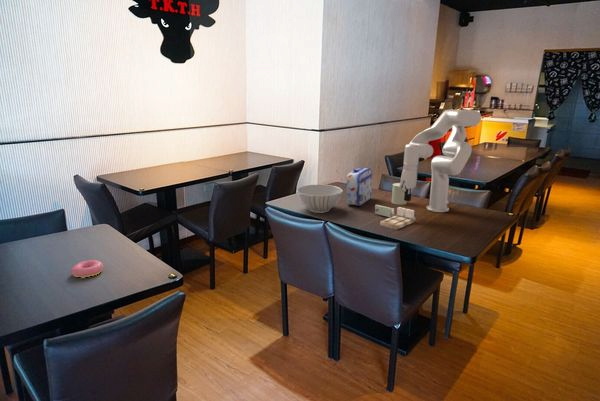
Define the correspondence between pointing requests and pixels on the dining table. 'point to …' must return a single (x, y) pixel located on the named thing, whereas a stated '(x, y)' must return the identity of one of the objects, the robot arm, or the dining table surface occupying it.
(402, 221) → the console board
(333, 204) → the decorative bowl
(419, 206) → the dining table surface
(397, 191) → the can
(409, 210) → the fader
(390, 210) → the rack door
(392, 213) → the hinge post
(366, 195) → the lunch box
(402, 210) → the fader
